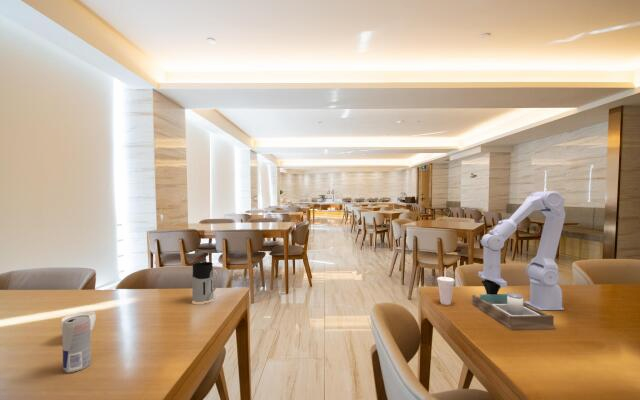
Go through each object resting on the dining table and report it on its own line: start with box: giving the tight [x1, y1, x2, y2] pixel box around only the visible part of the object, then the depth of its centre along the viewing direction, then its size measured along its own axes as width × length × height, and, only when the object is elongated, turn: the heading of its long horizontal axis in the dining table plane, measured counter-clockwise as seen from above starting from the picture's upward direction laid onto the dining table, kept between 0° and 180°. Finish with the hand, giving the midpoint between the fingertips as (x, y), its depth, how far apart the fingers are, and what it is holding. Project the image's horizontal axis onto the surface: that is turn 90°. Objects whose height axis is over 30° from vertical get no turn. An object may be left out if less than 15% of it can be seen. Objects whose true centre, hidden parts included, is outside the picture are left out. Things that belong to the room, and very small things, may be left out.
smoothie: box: [436, 267, 455, 306], centre depth 113 cm, size 6×6×14 cm
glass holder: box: [191, 261, 219, 302], centre depth 115 cm, size 9×14×15 cm, turn 54°
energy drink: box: [61, 315, 92, 374], centre depth 72 cm, size 5×5×12 cm
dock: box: [470, 294, 556, 331], centre depth 102 cm, size 22×15×4 cm, turn 2°
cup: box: [60, 310, 97, 332], centre depth 87 cm, size 8×10×7 cm
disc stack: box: [506, 292, 524, 315], centre depth 99 cm, size 5×5×6 cm
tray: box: [479, 293, 540, 316], centre depth 102 cm, size 17×11×4 cm, turn 2°
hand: (491, 300), depth 112 cm, fingers closed
